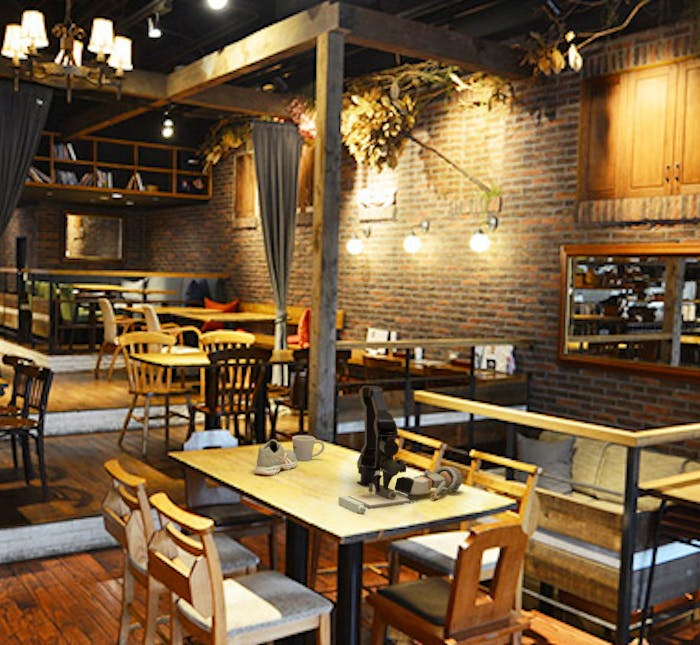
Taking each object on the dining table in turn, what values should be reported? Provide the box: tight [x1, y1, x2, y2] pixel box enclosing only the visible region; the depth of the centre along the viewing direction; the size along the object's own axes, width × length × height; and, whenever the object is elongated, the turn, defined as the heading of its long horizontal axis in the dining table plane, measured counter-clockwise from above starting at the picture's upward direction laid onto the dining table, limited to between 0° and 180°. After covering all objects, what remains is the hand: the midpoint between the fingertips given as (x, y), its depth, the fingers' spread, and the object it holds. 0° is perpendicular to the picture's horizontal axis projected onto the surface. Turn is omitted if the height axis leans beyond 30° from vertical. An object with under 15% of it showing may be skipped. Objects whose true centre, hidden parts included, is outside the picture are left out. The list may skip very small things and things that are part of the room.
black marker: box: [368, 483, 396, 499], centre depth 306 cm, size 14×3×3 cm, turn 33°
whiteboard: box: [348, 490, 415, 510], centre depth 302 cm, size 20×15×2 cm
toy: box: [393, 465, 463, 500], centre depth 313 cm, size 14×11×30 cm
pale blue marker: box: [337, 495, 367, 514], centre depth 289 cm, size 14×3×3 cm, turn 33°
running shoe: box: [254, 439, 298, 477], centre depth 344 cm, size 11×30×14 cm, turn 162°
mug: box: [291, 434, 325, 462], centre depth 366 cm, size 10×15×10 cm
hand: (381, 491), depth 306 cm, fingers open, 3 cm apart
